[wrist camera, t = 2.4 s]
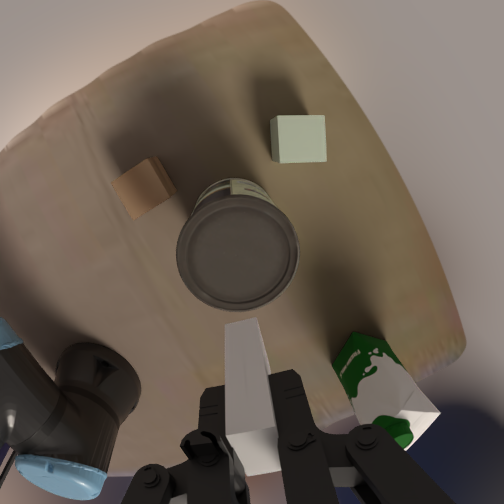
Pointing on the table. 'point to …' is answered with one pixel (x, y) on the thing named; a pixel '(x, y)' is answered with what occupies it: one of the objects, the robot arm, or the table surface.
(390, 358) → the milk carton
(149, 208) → the brown wooden cube
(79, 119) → the table surface
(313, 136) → the sage block
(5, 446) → the dark capped bottle
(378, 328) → the table surface
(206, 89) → the table surface
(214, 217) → the coffee can
